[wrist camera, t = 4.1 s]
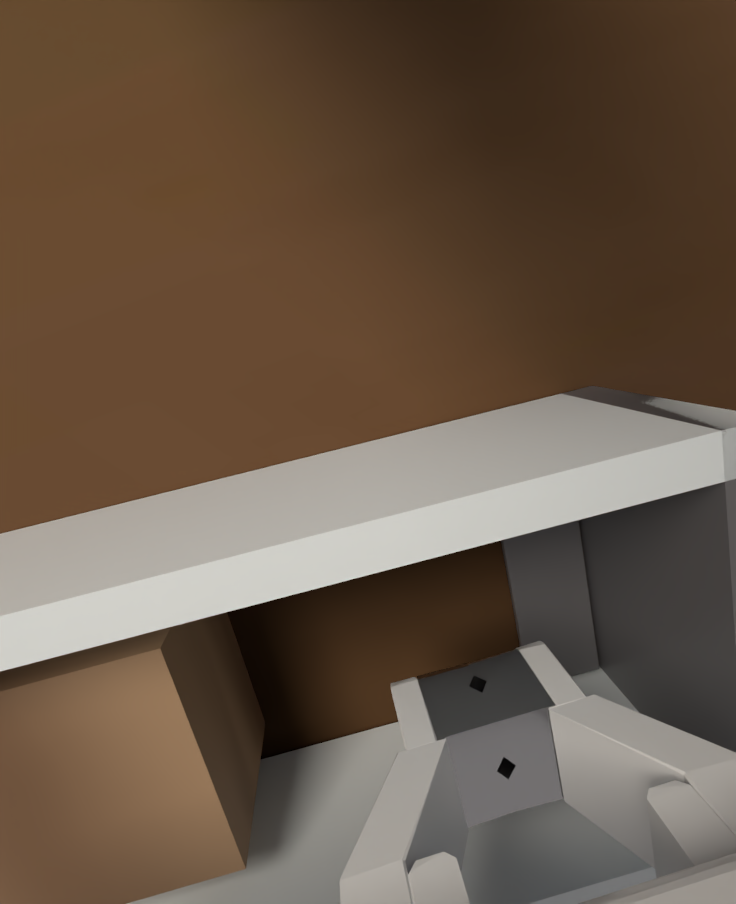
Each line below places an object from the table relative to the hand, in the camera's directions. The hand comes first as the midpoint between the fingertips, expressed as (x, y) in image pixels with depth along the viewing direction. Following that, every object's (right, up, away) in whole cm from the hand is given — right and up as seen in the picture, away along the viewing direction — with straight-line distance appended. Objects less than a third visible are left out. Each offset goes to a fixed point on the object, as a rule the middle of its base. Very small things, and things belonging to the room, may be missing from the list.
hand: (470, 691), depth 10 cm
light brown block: (-9, -1, +3) cm, 9 cm away
